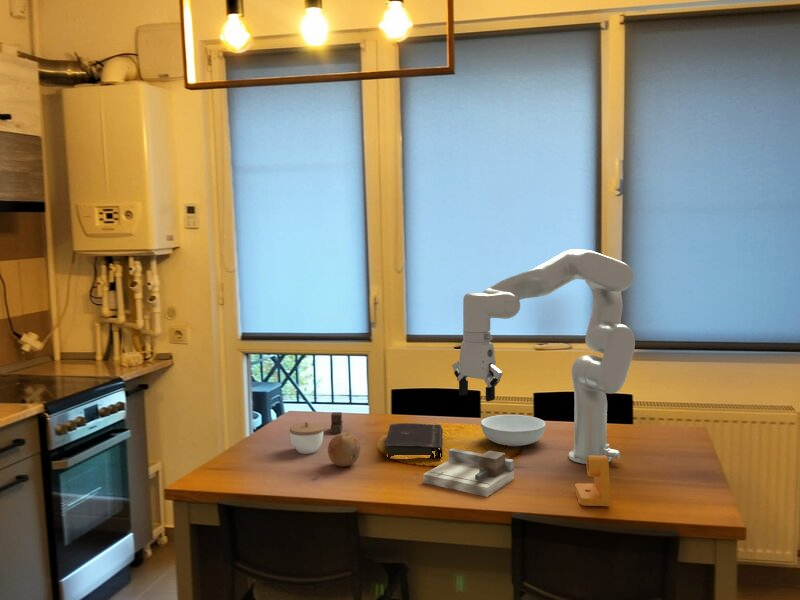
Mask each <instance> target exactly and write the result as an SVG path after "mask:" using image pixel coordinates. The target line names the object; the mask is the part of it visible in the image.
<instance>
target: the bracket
mask: <svg viewBox="0 0 800 600" xmlns="http://www.w3.org/2000/svg"><path fill="white" fill-rule="evenodd" d="M586 473H587V477H589V478H591V477H592V478H594V479H593V480H594V481H593V482H592V483H588V482H587V483H583V482H582V483H580V482H578V483H575V484H574V492H575V497H576V496H577V498H578V500H579V502H580V504H581V505H580V506H583V507H584V506H585V507H586V506H588V507H594V506H595V507H611V503H612V501H611V500H612V497H611V496H612V495H611V480H610V462H608V457H607V456H606V455H588V456H587V464H586ZM577 498H576V499H577ZM578 500H577V501H578ZM579 502H578V503H579Z"/></svg>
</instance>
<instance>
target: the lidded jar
mask: <svg viewBox="0 0 800 600" xmlns="http://www.w3.org/2000/svg"><path fill="white" fill-rule="evenodd" d="M324 429H325V428H324V426H323V425H322V424H321V423H318V422H308V421H304V422H302V423H301V422H300V423H296V424H293V425H292V426H290V427H289V434H290V435H289V438H290V442H291V445H292V446H293V448H294V449H295V450H296V451H297V453H299V454H304V455H305V454H306V455H307V454H308V455H309V454H314V453H316V452H317V451H318V450H319V449H320V447H321V446H322V444H323V440H324Z"/></svg>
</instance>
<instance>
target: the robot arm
mask: <svg viewBox="0 0 800 600" xmlns="http://www.w3.org/2000/svg"><path fill="white" fill-rule="evenodd" d="M577 279H578V280H584V281H585V283H586V284H587V286H588V287H589V289H590V291H591V294H592V297H593V306H592V310H591V311H592V312H591V315H590V317H589V318H590V319H589V322H588V326H587V329H586V334H585V340H584V341H585V345H586V346H587V348H588V349H590V350H592V351H594V352H596V353H600V354H603V355H602V357H601V356H600V357H599V356H597V355H592V354H585V355H583V354H582V355H580V356H578V357H577V358H576V359H575V360H574V362H573V363H572V366H571V380H572V386H573V392H574V393H573V394H574V395H573V396H574V397H573V398H574V406H573V407H574V408H573V410H574V415H573V416H574V417H573V418H574V420H573V421H574V422H573V425H574V428H573V450H571V451H569V453H568V458H569V459H570V461H573V462H575V463H579V464H582V465H587V456H588V455H606V456H607V457H608V462H609V463H610V462H611V461H612V458H614V459H616V460H617V459H620V458H621V452H620V451H619V450H617V449H612V448H611V447H610V443H607V427H608V425H607V424H608V423H607V421H608V413H607V412H608V400H607V399H608V398H607V394H615V393H618V392H619V391H620V390H621V389H622V388H623V387H624V385H625V383H626V379H627V377H628V374H629V371H630V367H631V362H632V359H633V355H634V351H635V348H636V347H635V346H636V341H635V340H636V338H635V335H634V332H633V330H632V329H631V328H630V327H629V326H627V325H625V324H622V323H621V318H622V313H623V310H624V309H623V308H624V306H623V305H624V303H623V297H622V294H621V292H624V291H625V290H628V289H629V288H630V287H631V285H632V284H633V282H634V272H633V270H632V268H631V266H630V265H628V264H627V263H626V262H623V261H620V260H618V259H616V258H613V257H610V256H607V255H604V254H601V253H599V252H596V251H593V250H588V249H568V250H565V251H563V252H561V253H559V254H558V255H556V256H554V257H552V258H550V259H548V260H547V261H545V262H543V263H541V264H539V265H538V266H536V267H534V268H531V269H529V270H527V271H524V272H521V273H518V274H515V275H512V276H510V277H507V278H505V279H502V280H499V282H497V283H495V284H493V285H491V286H489V287H488V288H486V289H484V290H483V291H482V292H469V293H468V292H467V293H465V294H464V296H463V297H462V298H463V299H462V300H463V301H462V304H463V305H462V318H463V319H462V323H463V324H462V325H463V328H462V334H463V335H462V337H463V338H462V341H461V344H460V351H459V360H458V361H456V362H454V363H453V364H452V365H451V367H452V370H453V372H454V375H455V377H456V381H457V382H458V396H461V397H462V396H465V395H468V394H469V381H468V378H473V379H478V380H483V381H484V383H485V384H486V386H485V402H491V401H495V399H496V386H498V383H500V381H501V379H502V376H503V371H502V370H500V368H498V367H497V363H496V353H495V347H494V343H493V342H491V341H492V340H493V338H494V337H493V334H491V319H503V320H509V319H511V318H512V319H513V318H514V317H516V316H517V314H518V313H519V312H520V309H521V302H520V300H524V299H531V298H533V299H534V298H540V297H544V296H548V295H550V294H553V292H555V291H557V290H559V289H561V288H562V287H564V286H565V285H568V284H569V283H571V282H572V281H575V280H577Z"/></svg>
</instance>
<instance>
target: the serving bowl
mask: <svg viewBox="0 0 800 600" xmlns="http://www.w3.org/2000/svg"><path fill="white" fill-rule="evenodd" d="M480 426H481V430H482V433H483V434H484V437H486V438H487V439H488V440H490V441H491V442H493V443H496V444H498V445H503V446H505V445H509V446H508V447H523V446H526V445H530V444H534V443H536V442H537V441H539V440H540V439H541V438H542V436H543V435H544V433H545V430H546V421H544V420H543V419H541V418H538V417H534V416H530V415H521V414H498V415H493V416H488V417H485V418H483V419H482V420H480Z"/></svg>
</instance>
